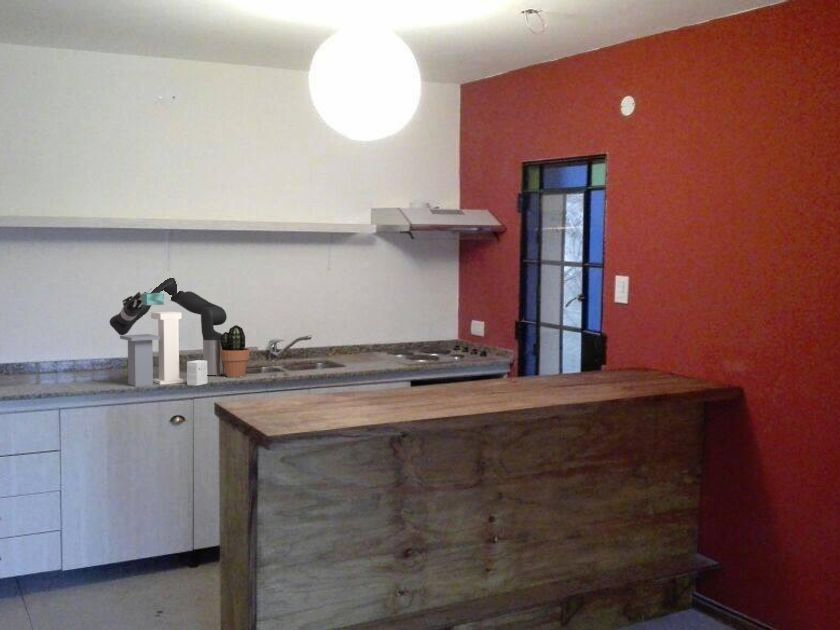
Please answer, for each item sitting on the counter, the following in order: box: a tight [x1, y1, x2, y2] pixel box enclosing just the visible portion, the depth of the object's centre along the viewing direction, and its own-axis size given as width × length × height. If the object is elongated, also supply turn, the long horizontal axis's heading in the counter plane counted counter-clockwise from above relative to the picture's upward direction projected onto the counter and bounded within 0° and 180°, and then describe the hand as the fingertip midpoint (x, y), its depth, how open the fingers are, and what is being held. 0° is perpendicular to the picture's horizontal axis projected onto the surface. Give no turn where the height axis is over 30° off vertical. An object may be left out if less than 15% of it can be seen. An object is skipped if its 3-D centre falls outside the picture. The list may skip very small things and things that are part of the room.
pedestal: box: [119, 333, 160, 387], centre depth 379 cm, size 13×13×22 cm
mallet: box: [137, 292, 165, 306], centre depth 397 cm, size 8×20×5 cm, turn 40°
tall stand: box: [150, 311, 184, 385], centre depth 387 cm, size 11×10×32 cm
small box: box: [186, 359, 208, 387], centre depth 382 cm, size 8×6×10 cm
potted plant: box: [220, 324, 251, 378], centre depth 408 cm, size 14×14×25 cm
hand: (142, 293), depth 401 cm, fingers closed on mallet, 2 cm apart
